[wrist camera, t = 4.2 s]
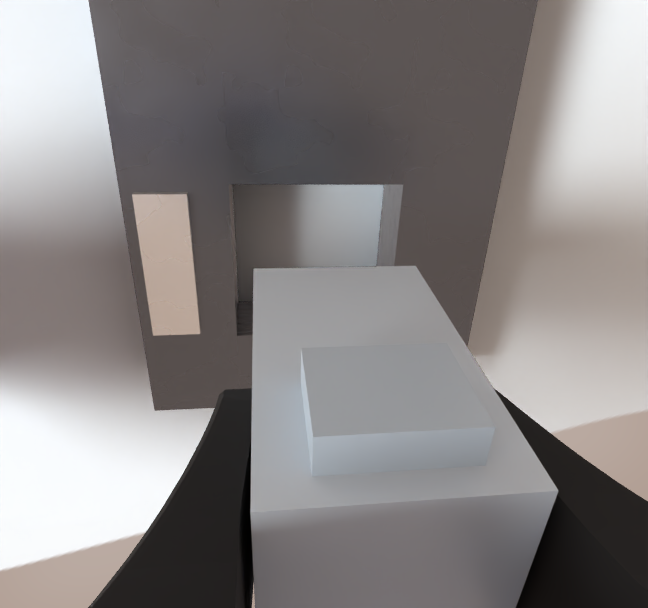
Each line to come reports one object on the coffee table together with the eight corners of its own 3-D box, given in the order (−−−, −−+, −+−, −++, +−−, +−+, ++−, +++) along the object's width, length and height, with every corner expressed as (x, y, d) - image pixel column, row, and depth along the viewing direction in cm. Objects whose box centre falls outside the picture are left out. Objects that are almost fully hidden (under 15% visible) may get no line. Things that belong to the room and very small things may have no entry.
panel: (164, 371, 22) (153, 414, 19) (24, -615, 10) (-45, -804, 8) (438, 359, 23) (458, 398, 21) (590, -515, 12) (675, -650, 9)
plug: (258, 399, 14) (258, 682, 8) (252, 240, 12) (248, 471, 6) (399, 392, 15) (498, 655, 9) (419, 239, 12) (572, 450, 6)
